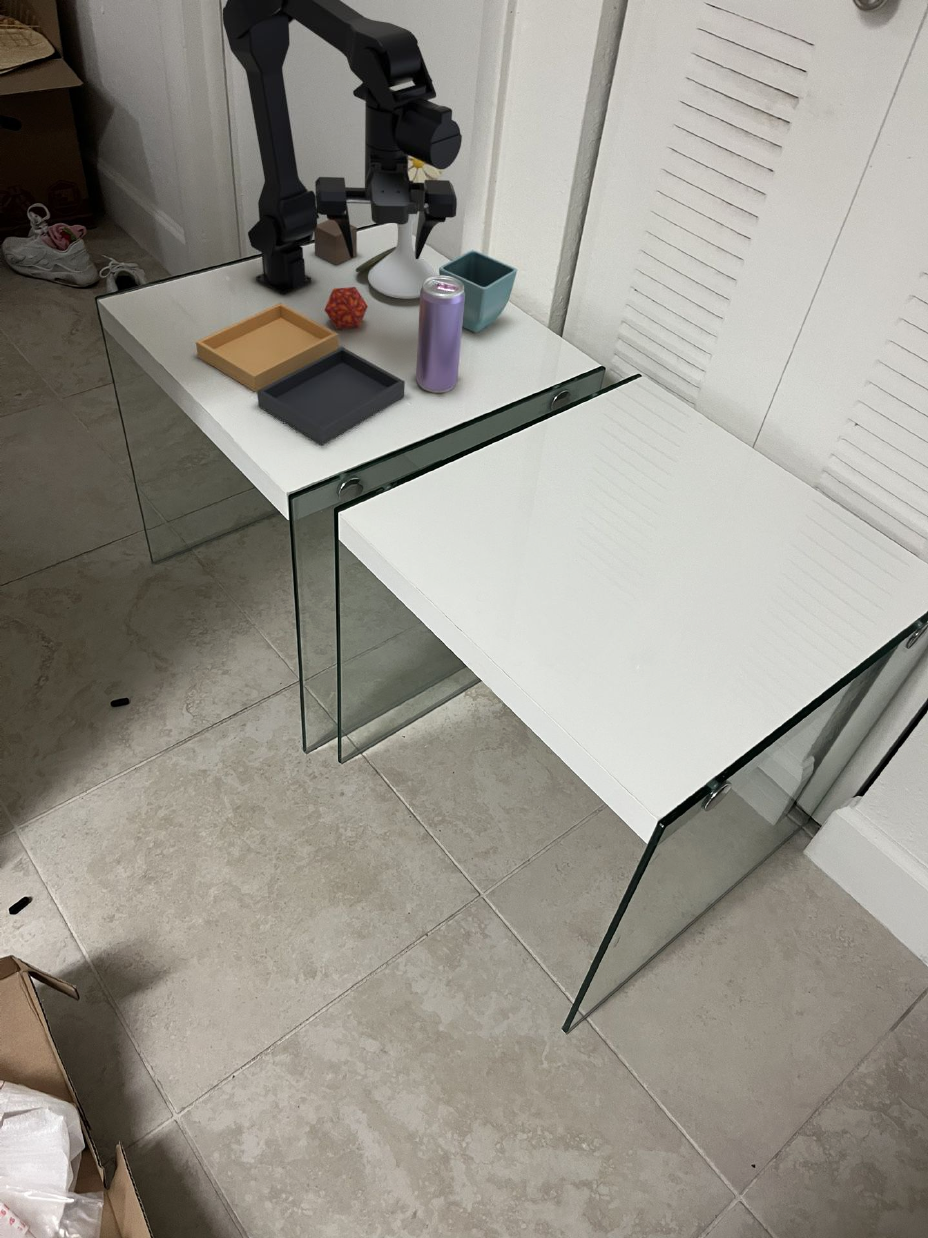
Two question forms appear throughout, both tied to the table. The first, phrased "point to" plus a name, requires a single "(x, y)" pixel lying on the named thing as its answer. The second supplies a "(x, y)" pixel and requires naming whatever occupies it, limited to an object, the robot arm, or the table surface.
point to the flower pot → (481, 287)
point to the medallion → (374, 260)
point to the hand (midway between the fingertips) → (384, 257)
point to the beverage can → (439, 333)
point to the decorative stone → (346, 307)
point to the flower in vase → (405, 250)
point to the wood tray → (267, 346)
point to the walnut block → (333, 242)
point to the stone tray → (331, 395)
